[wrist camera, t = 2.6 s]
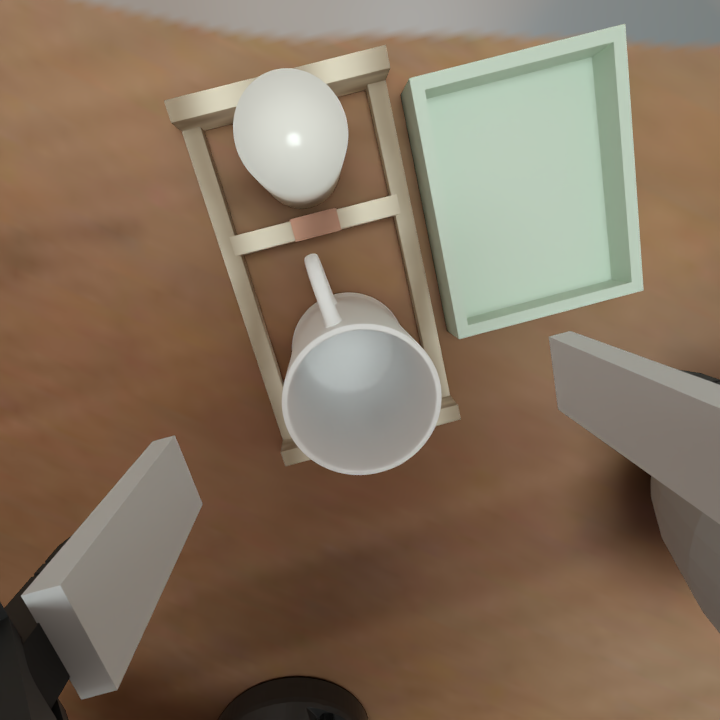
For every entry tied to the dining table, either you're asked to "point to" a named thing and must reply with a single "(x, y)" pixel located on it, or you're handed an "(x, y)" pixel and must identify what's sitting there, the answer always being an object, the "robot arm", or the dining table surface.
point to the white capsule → (292, 136)
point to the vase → (691, 546)
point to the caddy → (342, 79)
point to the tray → (528, 180)
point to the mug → (357, 383)
